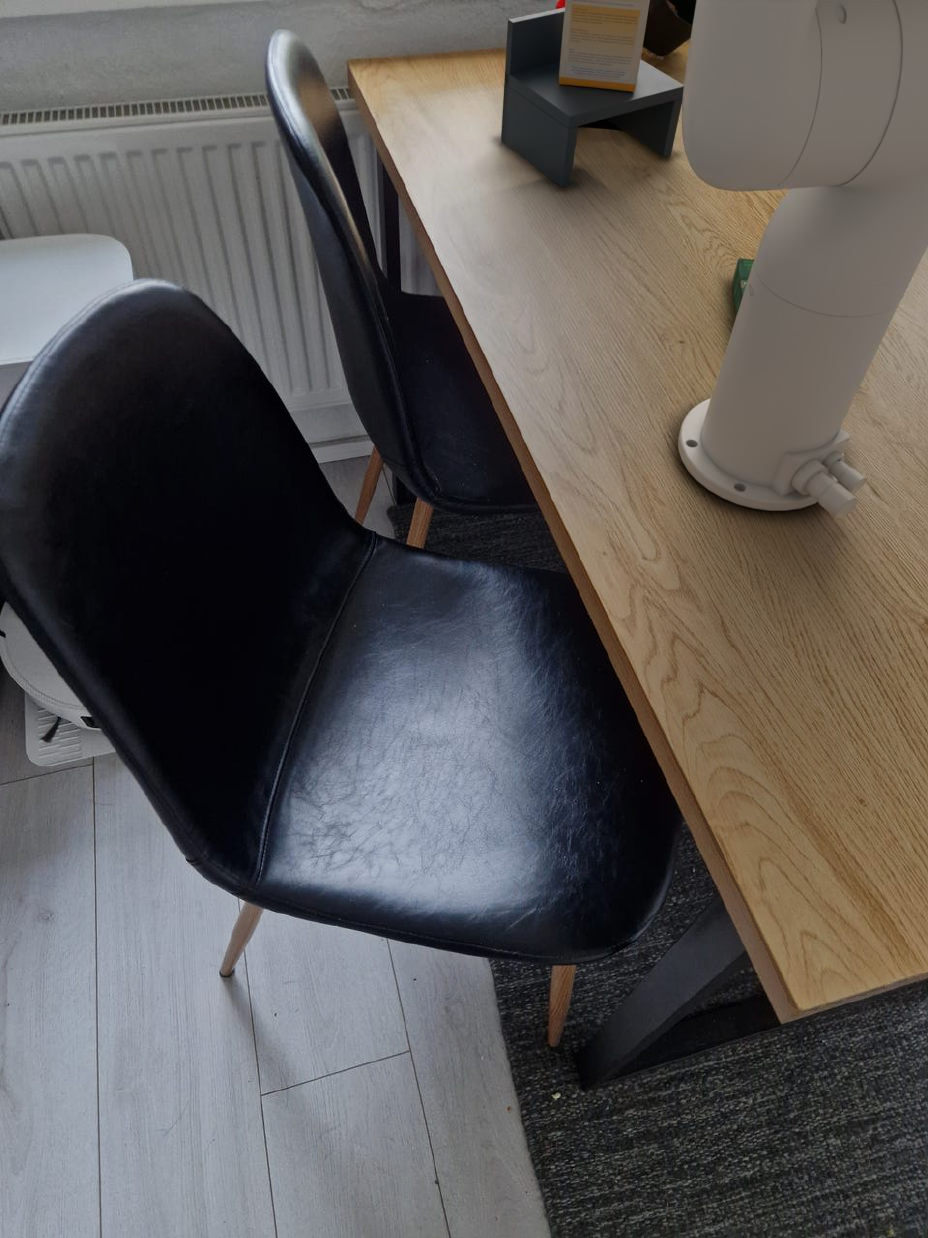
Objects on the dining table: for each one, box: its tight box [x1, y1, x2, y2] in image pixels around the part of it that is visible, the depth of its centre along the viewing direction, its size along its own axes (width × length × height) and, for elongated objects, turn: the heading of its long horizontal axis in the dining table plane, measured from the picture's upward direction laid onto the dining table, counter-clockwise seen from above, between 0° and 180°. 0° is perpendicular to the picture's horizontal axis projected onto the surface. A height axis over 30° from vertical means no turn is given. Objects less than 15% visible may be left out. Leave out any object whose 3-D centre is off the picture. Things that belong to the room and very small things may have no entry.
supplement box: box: [559, 0, 650, 92], centre depth 88 cm, size 8×5×13 cm, turn 78°
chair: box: [500, 8, 684, 188], centre depth 94 cm, size 12×15×12 cm
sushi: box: [642, 0, 697, 61], centre depth 110 cm, size 8×8×8 cm
